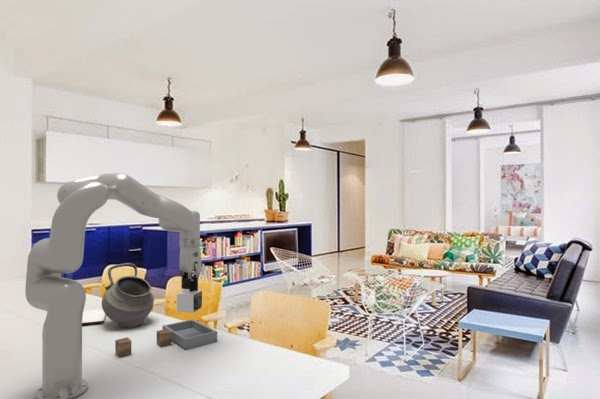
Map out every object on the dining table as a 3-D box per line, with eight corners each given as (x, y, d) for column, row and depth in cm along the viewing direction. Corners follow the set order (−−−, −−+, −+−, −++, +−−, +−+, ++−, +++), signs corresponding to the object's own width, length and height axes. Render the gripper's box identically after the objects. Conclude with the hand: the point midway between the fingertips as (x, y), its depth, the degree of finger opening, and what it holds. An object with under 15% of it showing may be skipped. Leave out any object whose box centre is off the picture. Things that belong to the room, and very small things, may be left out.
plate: (103, 325, 171) (103, 320, 171) (53, 330, 164) (53, 325, 164) (106, 313, 188) (106, 308, 188) (61, 317, 181) (61, 312, 181)
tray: (217, 341, 152) (217, 331, 152) (184, 350, 143) (184, 339, 143) (193, 328, 167) (193, 319, 167) (162, 335, 158) (162, 325, 158)
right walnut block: (171, 344, 148) (171, 331, 148) (160, 347, 145) (160, 333, 145) (167, 341, 151) (167, 328, 151) (156, 344, 148) (156, 330, 148)
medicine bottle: (193, 313, 151) (193, 281, 151) (176, 311, 152) (176, 280, 152) (202, 307, 158) (202, 277, 158) (185, 306, 159) (185, 276, 159)
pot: (104, 319, 178) (104, 263, 178) (153, 314, 185) (154, 260, 185) (98, 334, 158) (99, 271, 158) (154, 328, 166) (154, 268, 166)
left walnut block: (131, 354, 139) (131, 340, 138) (119, 357, 136) (119, 343, 136) (127, 351, 141) (127, 337, 141) (115, 354, 139) (115, 340, 139)
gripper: (209, 244, 151) (209, 292, 151) (188, 240, 164) (188, 284, 164) (190, 245, 146) (190, 295, 146) (171, 241, 159) (170, 287, 159)
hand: (189, 289), depth 155 cm, fingers closed on medicine bottle, 6 cm apart
